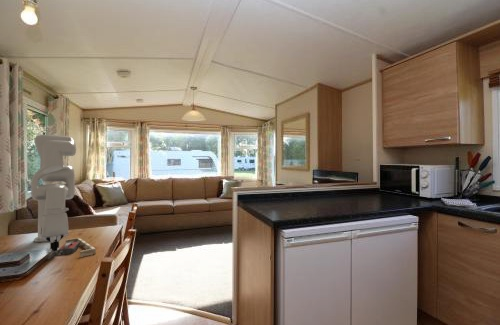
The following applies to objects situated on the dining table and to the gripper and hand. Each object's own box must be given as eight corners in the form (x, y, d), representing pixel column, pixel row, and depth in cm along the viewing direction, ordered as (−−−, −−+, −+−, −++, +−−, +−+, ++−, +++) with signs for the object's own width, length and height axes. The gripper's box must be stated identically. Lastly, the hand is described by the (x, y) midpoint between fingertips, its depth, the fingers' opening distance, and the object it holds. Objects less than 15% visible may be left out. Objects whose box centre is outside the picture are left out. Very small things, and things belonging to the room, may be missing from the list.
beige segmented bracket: (65, 244, 131) (65, 239, 131) (79, 242, 136) (79, 237, 136) (80, 257, 113) (80, 251, 113) (95, 253, 118) (95, 248, 118)
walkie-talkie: (60, 248, 127) (44, 262, 108) (61, 239, 127) (45, 252, 108) (80, 246, 130) (68, 259, 111) (81, 238, 130) (68, 250, 112)
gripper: (72, 208, 125) (71, 244, 125) (33, 212, 114) (32, 252, 114) (76, 210, 120) (75, 248, 120) (36, 214, 109) (35, 256, 109)
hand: (54, 250), depth 117 cm, fingers closed
